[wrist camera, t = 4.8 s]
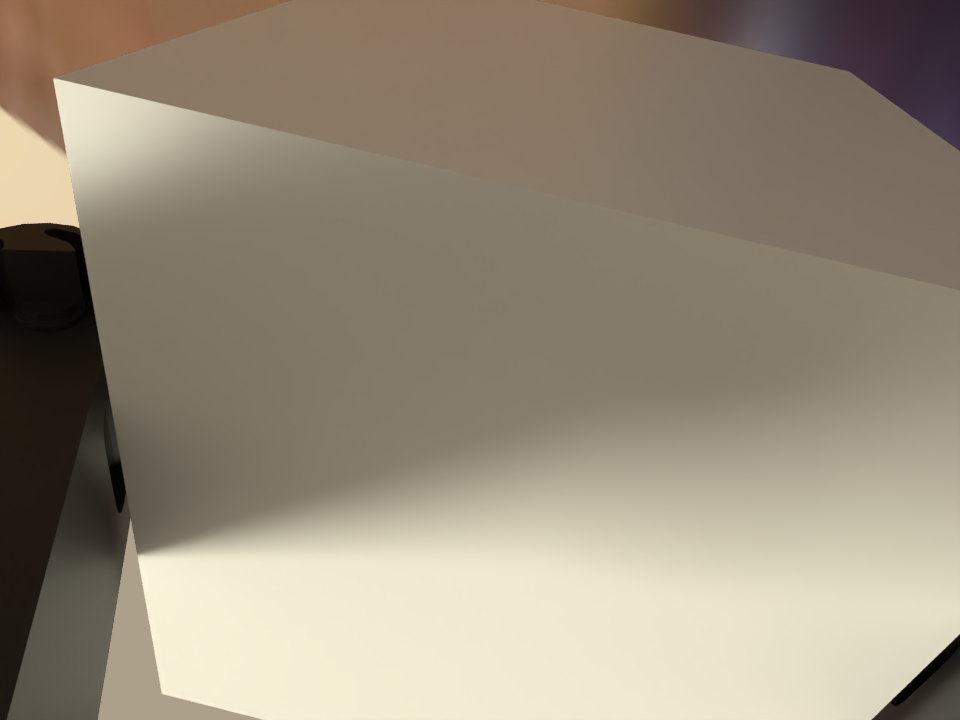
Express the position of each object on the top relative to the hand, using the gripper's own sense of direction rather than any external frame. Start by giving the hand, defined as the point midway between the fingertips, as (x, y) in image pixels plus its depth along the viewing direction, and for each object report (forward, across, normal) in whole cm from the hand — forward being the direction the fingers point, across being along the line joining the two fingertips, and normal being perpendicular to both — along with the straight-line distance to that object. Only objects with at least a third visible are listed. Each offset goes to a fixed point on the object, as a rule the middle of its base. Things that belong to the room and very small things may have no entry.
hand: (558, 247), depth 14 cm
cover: (+1, 0, 0) cm, 1 cm away
